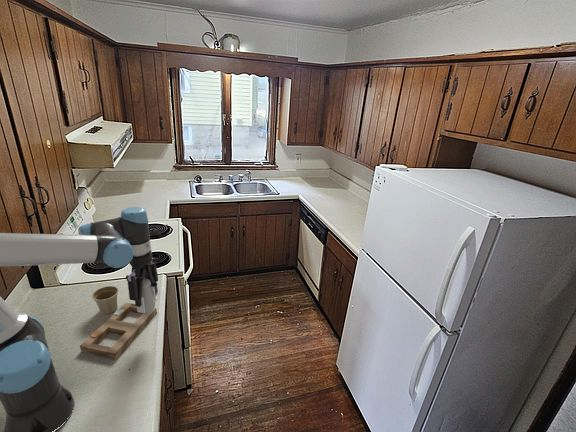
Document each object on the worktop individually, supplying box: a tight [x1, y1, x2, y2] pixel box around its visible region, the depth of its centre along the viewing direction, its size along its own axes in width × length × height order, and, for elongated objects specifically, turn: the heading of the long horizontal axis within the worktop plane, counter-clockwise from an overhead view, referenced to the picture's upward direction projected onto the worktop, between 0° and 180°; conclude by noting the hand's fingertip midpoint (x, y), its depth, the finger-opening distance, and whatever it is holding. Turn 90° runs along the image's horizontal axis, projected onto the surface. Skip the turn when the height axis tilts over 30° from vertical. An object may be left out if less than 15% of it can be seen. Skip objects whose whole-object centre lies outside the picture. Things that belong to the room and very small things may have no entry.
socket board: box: [79, 302, 158, 359], centre depth 116 cm, size 24×14×3 cm, turn 169°
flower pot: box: [91, 285, 119, 315], centre depth 125 cm, size 9×9×9 cm
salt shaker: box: [142, 279, 156, 314], centre depth 111 cm, size 6×6×13 cm
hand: (147, 306), depth 113 cm, fingers closed on salt shaker, 6 cm apart
